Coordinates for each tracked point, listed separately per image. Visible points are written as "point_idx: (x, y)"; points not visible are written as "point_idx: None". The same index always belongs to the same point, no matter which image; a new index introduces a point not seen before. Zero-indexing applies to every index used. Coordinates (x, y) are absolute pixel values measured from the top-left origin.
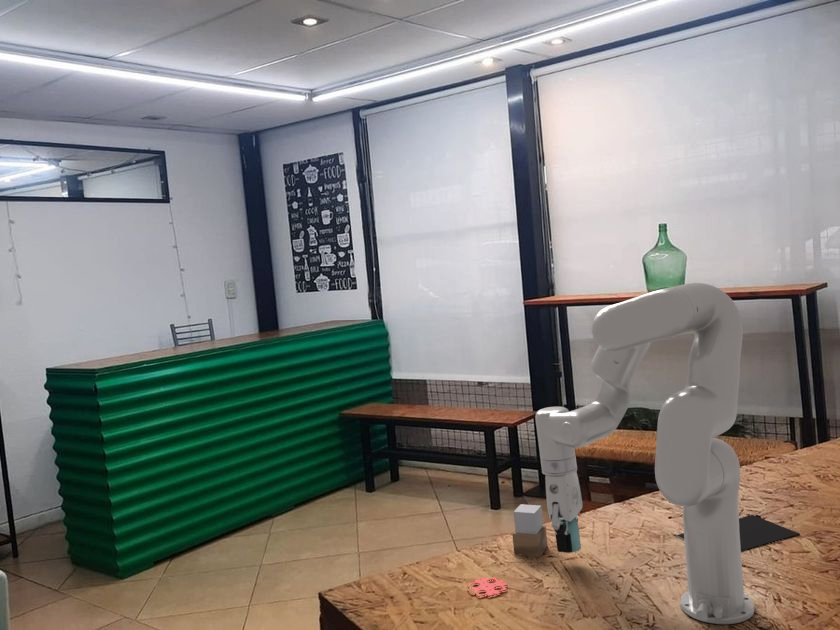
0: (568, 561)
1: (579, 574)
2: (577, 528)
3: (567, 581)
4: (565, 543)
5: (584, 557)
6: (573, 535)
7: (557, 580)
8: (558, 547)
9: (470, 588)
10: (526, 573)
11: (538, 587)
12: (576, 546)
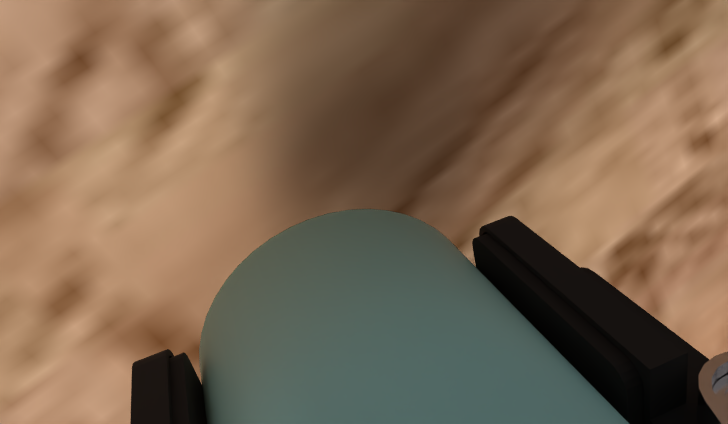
0: None
1: (422, 70)
2: (449, 421)
3: (575, 79)
4: (632, 307)
5: (58, 261)
6: (528, 343)
7: (586, 156)
8: None
9: None
10: None
11: (714, 194)
12: (411, 240)
